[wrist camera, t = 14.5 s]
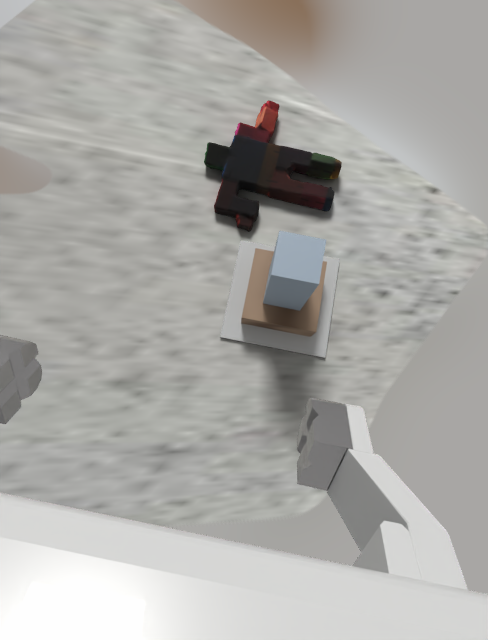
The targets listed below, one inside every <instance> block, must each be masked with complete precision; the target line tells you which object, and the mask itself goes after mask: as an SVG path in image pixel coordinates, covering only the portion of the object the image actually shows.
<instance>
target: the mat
mask: <svg viewBox="0 0 488 640" xmlns="http://www.w3.org/2000/svg"><path fill="white" fill-rule="evenodd" d="M255 248H258V249H263V250H269V251H274V250H275V246H270V245H265V244H260V243H255V242H249V241H244V240H241V241H240V246H239V251H238V256H237V260H236V265H235V270H234V274H233V279H232V284H231V288H230V293H229V298H228V302H227V307H226V312H225V317H224V321H223V326H222V331H221V335H220V337H221V338H226V339H231V340H236V341H241V342H246V343H251V344H256V345H262V346H267V347H272V348H277V349H282V350H287V351H292V352H297V353H302V354H307V355H312V356H317V357H322V358H325V357H326V350H327V343H328V336H329V329H330V322H331V315H332V309H333V302H334V295H335V288H336V281H337V274H338V267H339V260H340V259H338V258H333V257H327V256H324V257H323V261H326V262H327V266H326V272H325V279H324V285H323V292H322V298H321V305H320V311H319V318H318V324H317V331H316V333H315V334H313V335H312V336H311V337H308V336H303V335H298V334H293V333H288V332H283V331H278V330H273V329H268V328H263V327H258V326H252V325H247V324H242V323H241V318H242V313H243V308H244V303H245V298H246V293H247V288H248V283H249V278H250V273H251V268H252V263H253V258H254V253H255Z"/></svg>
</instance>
